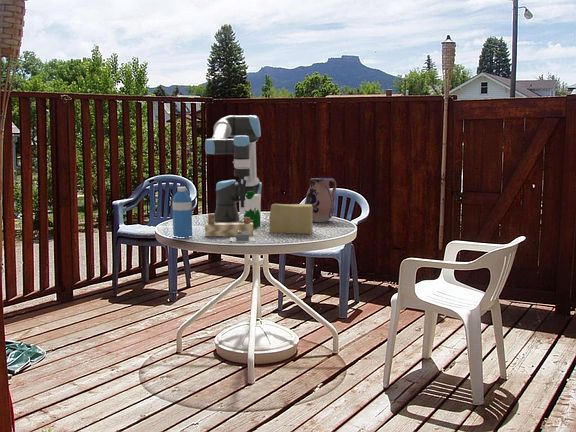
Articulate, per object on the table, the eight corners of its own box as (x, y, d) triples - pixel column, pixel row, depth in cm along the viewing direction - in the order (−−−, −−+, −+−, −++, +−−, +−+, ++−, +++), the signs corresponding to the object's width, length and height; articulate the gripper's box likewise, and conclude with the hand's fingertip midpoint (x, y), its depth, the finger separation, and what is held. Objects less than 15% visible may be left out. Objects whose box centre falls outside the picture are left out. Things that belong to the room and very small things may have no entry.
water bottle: (174, 235, 318) (173, 186, 314) (192, 235, 319) (191, 186, 315) (172, 238, 309) (171, 188, 305) (191, 238, 309) (190, 188, 306)
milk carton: (241, 227, 342) (241, 191, 339) (248, 225, 350) (247, 189, 348) (256, 228, 339) (256, 191, 336) (262, 226, 348) (262, 190, 345)
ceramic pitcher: (297, 221, 365) (298, 178, 361) (321, 217, 380) (321, 176, 377) (321, 224, 353) (321, 180, 349) (344, 220, 368) (344, 178, 365)
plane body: (205, 236, 314) (204, 215, 313) (205, 234, 320) (205, 213, 319) (253, 236, 317) (253, 214, 315) (252, 234, 322) (252, 212, 321)
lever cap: (236, 241, 301) (236, 232, 300) (236, 237, 311) (236, 229, 310) (248, 240, 301) (248, 232, 301) (248, 237, 311) (248, 228, 311)
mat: (230, 242, 299) (230, 241, 299) (230, 237, 311) (230, 237, 311) (255, 242, 301) (255, 241, 300) (254, 237, 312) (254, 236, 312)
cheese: (268, 233, 323) (268, 205, 321) (270, 230, 333) (270, 202, 331) (311, 234, 321) (311, 205, 319) (312, 231, 331) (312, 203, 329)
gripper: (233, 165, 313) (234, 207, 316) (233, 170, 288) (234, 216, 292) (248, 165, 313) (249, 207, 317) (250, 170, 289) (250, 215, 292)
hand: (242, 211), depth 304 cm, fingers open, 13 cm apart
